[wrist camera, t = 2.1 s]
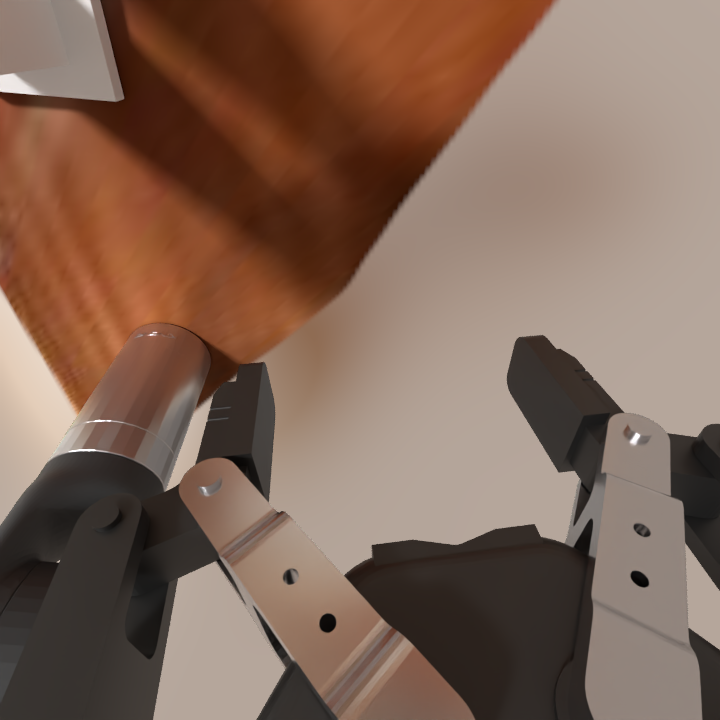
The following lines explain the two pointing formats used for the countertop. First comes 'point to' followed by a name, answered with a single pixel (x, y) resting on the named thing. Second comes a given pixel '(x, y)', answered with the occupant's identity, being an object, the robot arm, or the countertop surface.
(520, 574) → the robot arm
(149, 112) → the countertop surface
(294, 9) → the countertop surface
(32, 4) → the white pedestal stand
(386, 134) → the countertop surface
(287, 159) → the countertop surface
